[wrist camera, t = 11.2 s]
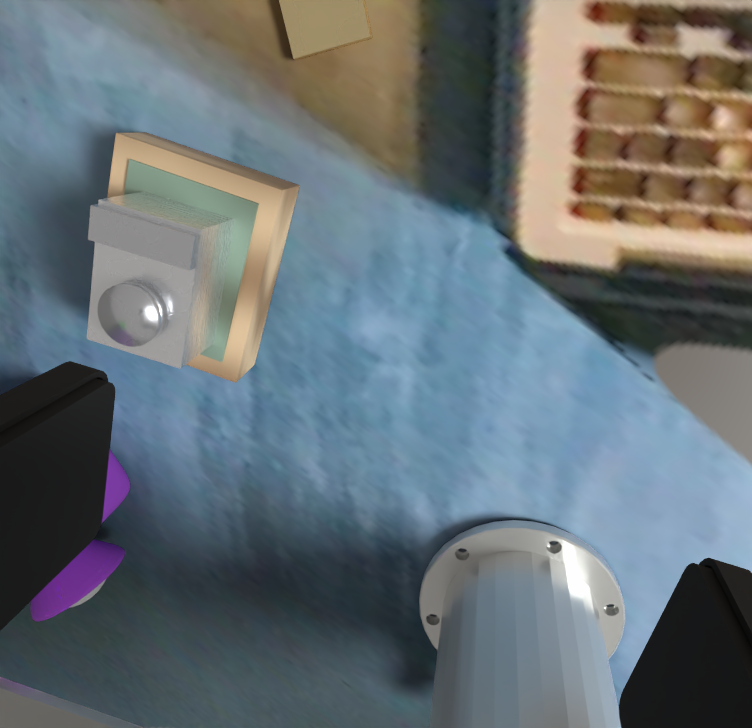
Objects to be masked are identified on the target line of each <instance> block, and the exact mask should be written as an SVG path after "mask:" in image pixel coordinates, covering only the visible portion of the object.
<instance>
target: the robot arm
mask: <svg viewBox="0 0 752 728" xmlns="http://www.w3.org/2000/svg"><path fill="white" fill-rule="evenodd" d="M114 401H115V387H114V385H113V384H112V383H110V382H108V378H107V375H106V374H105V372H104V371H100V370H97V369H94V368H91V367H87V366H84V365H81V364H78V363H74V362H70V361H69V362H66V363H63V364H61V365H59V366H57V367H55V368H53V369H51V370H49V371H47V372H45V373H43V374H41V375H39V376H37V377H35V378H33V379H31V380H29V381H27V382H25V383H23V384H21V385H19V386H17V387H15V388H13V389H11V390H9V391H7V392H6V393H4V394H2V395H0V630H1V629H2V628H3V627H5V626H6V625H7V624H8V623H9V622H10V621H11V620H12V619H13V618H14V617H15V616H16V615H17V614H18V613H19V612H20V611H21V610H22V609H23V608H24V607H25V606H26V605H27V604H28V603H29V602H30V601H31V600H32V599H33V598H34V597H35V596H36V595H37V594H38V593H39V592H40V591H42V590H43V589H44V588H45V587H46V586H47V585H48V584H49V583H50V582H51V581H52V580H53V579H54V578H55V577H56V576H57V575H58V574H59V573H60V572H61V571H62V570H63V569H64V568H65V567H66V566H67V565H68V564H69V563H70V562H71V561H72V560H73V559H74V558H75V557H76V556H77V555H79V554H80V553H81V552H82V551H83V550H84V549H85V548H86V547H87V546H88V545H89V544H90V543H91V542H92V541H93V539H94V538H95V537H96V535H97V533H98V531H99V529H100V527H101V524H102V519H103V510H104V500H105V491H106V481H107V471H108V461H109V451H110V441H111V431H112V421H113V411H114ZM419 607H420V617H421V620H422V624H423V627H424V630H425V632H426V634H427V636H428V638H429V640H430V641H431V643H432V645H433V646H434V647H435V648H436V650H437V651H438V652H437V661H436V669H435V678H434V687H433V695H432V704H431V712H430V721H429V728H752V573H751V572H750V571H749V570H746V569H744V568H740V567H737V566H734V565H731V564H727V563H724V562H721V561H718V560H714V559H711V558H706V559H704V560H703V561H702V562H700V564H699V565H698V564H695V563H692V564H689V565H688V566H687V567H686V569H685V570H684V572H683V574H682V576H681V578H680V580H679V582H678V584H677V586H676V588H675V590H674V592H673V594H672V596H671V598H670V600H669V601H668V603H667V605H666V607H665V609H664V611H663V613H662V615H661V617H660V619H659V621H658V623H657V625H656V627H655V629H654V631H653V633H652V635H651V637H650V639H649V641H648V643H647V645H646V646H645V648H644V650H643V652H642V654H641V656H640V658H639V660H638V662H637V664H636V666H635V668H634V670H633V672H632V674H631V676H630V678H629V680H628V682H627V684H626V686H625V688H624V689H623V692H622V694H621V698H620V704H619V708H618V703H617V699H616V694H615V689H614V684H613V679H612V675H611V670H610V665H609V658H610V657H611V656H612V655H613V653H614V652H615V651H616V649H617V647H618V644H619V642H620V640H621V638H622V635H623V630H624V625H625V607H624V601H623V597H622V593H621V589H620V586H619V584H618V582H617V579H616V577H615V575H614V573H613V571H612V569H611V568H610V567H609V565H608V564H607V563H606V561H605V560H604V559H603V557H602V556H601V555H600V554H598V553H597V552H596V551H595V550H594V549H593V548H592V547H591V546H590V545H589V544H587V543H586V542H584V541H582V540H581V539H579V538H578V537H576V536H574V535H573V534H571V533H568V532H566V531H564V530H561V529H559V528H556V527H554V526H550V525H546V524H542V523H537V522H532V521H518V520H509V521H498V522H491V523H487V524H483V525H480V526H476V527H473V528H471V529H469V530H467V531H465V532H462V533H460V534H458V535H457V536H455V537H454V538H453V539H451V540H450V541H448V542H447V543H446V544H444V545H443V546H442V548H441V549H440V550H439V551H438V552H437V553H436V554H435V555H434V556H433V558H432V560H431V561H430V563H429V565H428V567H427V568H426V570H425V574H424V577H423V580H422V584H421V590H420V598H419ZM0 728H144V727H141V726H138V725H135V724H133V723H130V722H127V721H124V720H121V719H118V718H116V717H113V716H110V715H107V714H104V713H101V712H99V711H96V710H93V709H90V708H87V707H84V706H82V705H79V704H76V703H73V702H70V701H67V700H64V699H62V698H59V697H56V696H53V695H50V694H47V693H45V692H42V691H39V690H36V689H33V688H30V687H28V686H25V685H22V684H19V683H16V682H13V681H11V680H8V679H5V678H2V677H0Z"/></svg>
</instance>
